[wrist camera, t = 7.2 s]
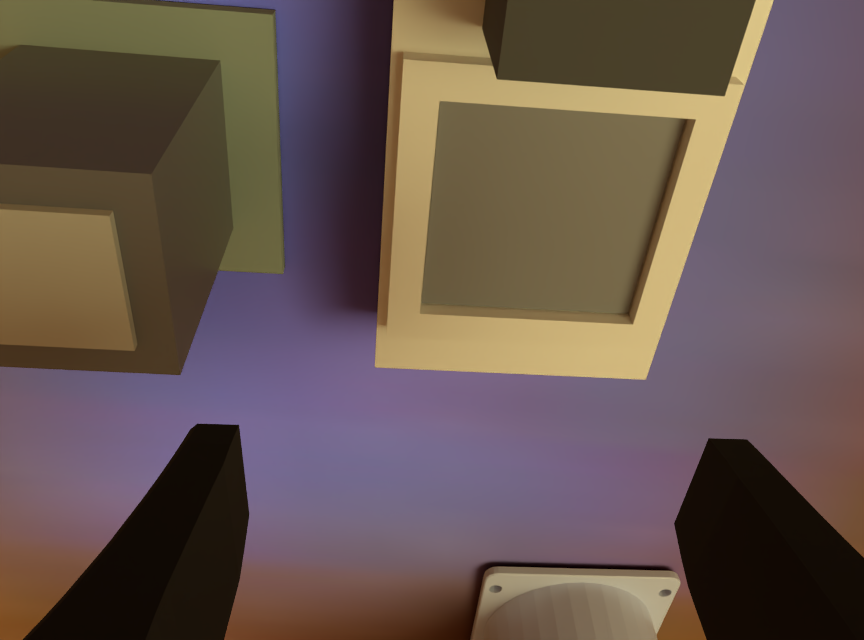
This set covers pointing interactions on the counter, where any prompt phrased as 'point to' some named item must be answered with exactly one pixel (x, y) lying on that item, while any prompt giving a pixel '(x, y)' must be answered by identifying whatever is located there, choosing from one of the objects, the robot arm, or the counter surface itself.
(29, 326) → the block
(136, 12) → the mat
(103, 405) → the counter surface
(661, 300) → the power strip
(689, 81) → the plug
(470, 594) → the counter surface
